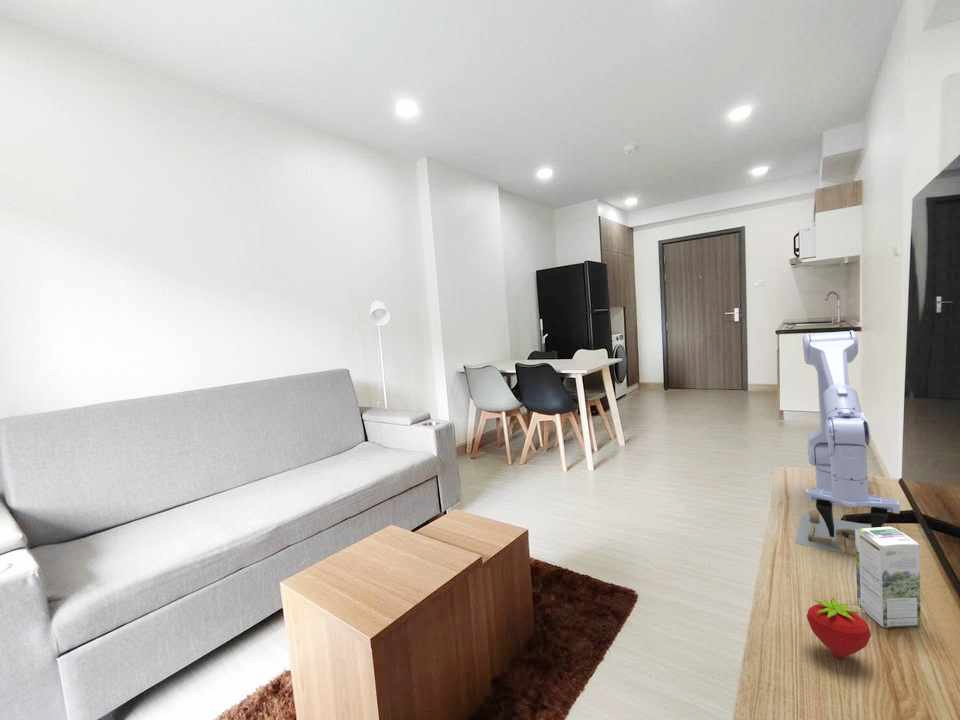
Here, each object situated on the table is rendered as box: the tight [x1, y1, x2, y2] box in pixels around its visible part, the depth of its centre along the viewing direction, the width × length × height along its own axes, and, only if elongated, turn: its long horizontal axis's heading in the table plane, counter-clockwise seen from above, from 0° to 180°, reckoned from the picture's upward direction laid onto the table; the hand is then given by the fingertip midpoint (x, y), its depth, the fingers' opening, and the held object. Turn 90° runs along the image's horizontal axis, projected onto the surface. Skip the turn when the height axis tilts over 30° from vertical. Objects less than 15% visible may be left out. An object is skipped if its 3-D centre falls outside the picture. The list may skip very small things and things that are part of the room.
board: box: [794, 510, 871, 554], centre depth 97 cm, size 15×13×3 cm
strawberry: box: [806, 597, 872, 659], centre depth 67 cm, size 6×8×10 cm
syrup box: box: [855, 526, 922, 629], centre depth 73 cm, size 6×6×14 cm
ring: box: [836, 529, 856, 556], centre depth 91 cm, size 5×5×3 cm
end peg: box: [846, 530, 855, 539], centre depth 91 cm, size 2×2×4 cm
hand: (852, 538), depth 91 cm, fingers open, 6 cm apart
